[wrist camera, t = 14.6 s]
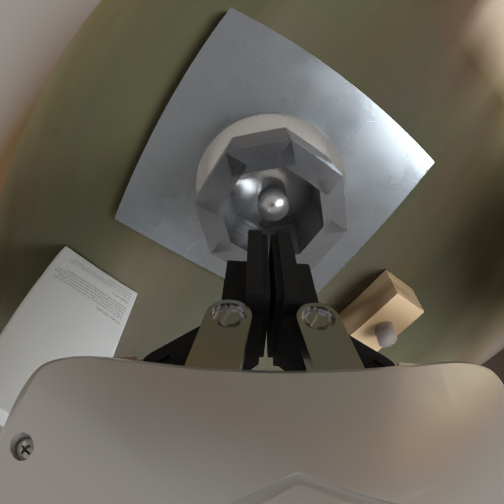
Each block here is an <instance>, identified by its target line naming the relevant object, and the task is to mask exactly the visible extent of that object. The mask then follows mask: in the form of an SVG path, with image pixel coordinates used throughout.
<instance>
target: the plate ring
mask: <svg viewBox="0 0 504 504" xmlns="http://www.w3.org/2000/svg"><path fill="white" fill-rule="evenodd" d="M281 167H286V168H288V169H289V170H291V171H292V172H294V173H295V174H297V175H298V176H300V177H301V178H303V179H304V180H306V181H307V182H309V183H310V184H311V186H312V193H313V200H312V201H311V202H310V204H309V205H308V206H307V207H306V209H305V210H304V211H303V212H302V214H301V215H300V216H299V217H298V219H297V220H296V221H295V222H294V223H291V224H285V225H279V226H273V227H267V228H261V227H260V226H258V225H256V224H254V223H253V222H251V221H249V220H248V219H246V218H244V217H242V216H241V215H239V214H237V213H236V212H235V209H234V205H233V201H232V197H231V194H230V192H231V191H232V189H233V188H234V186H235V185H236V183H237V182H238V180H239V179H240V177H241V176H242V175H243V174H248V173H253V172H258V171H264V170H269V169H275V168H281ZM194 205H195V208H196V211H197V214H198V217H199V220H200V223H201V226H202V229H203V232H204V235H205V238H206V241H207V244H208V247H209V250H210V253H211V254H212V255H214V256H216V257H218V258H219V259H221V260H223V261H225V262H227V261H228V260H233V261H247V247H248V230H262V234H267V241H268V257H269V249H270V239H271V234H274V235H276V231H284V232H290V233H291V238H292V243H293V248H294V252H295V257H296V262H297V264H309V266H310V270H312V269H313V268H314V267H315V266H316V265H317V264H318V263H319V262H320V261H321V260H322V259H323V257H324V256H325V255H326V254H327V253H328V252H329V251H330V250H331V249H332V248H333V246H334V245H335V244H336V243H337V242H338V241H339V240H340V239H341V238H342V236H343V235H344V234H345V233H346V232H347V221H346V207H345V194H344V183H343V176H342V175H341V173H340V172H339V171H338V169H337V168H336V167H335V165H334V164H333V163H332V161H331V160H330V159H329V158H328V157H327V156H326V155H325V154H323V153H322V152H321V151H319V150H318V149H316V148H315V147H314V146H312V145H311V144H309V143H308V142H307V141H305V140H304V139H302V138H301V137H299V136H298V135H296V134H295V133H293V132H292V131H290V130H289V129H287V128H286V127H284V128H278V129H272V130H267V131H261V132H256V133H251V134H246V135H241V136H236V137H232V139H231V140H230V142H229V143H228V145H227V146H226V148H225V150H224V151H223V153H222V154H221V156H220V157H219V159H218V161H217V162H216V164H215V165H214V167H213V169H212V170H211V172H210V173H209V175H208V177H207V178H206V180H205V182H204V184H203V186H202V188H201V190H200V192H199V194H198V196H197V198H196V200H195V202H194Z"/></svg>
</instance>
